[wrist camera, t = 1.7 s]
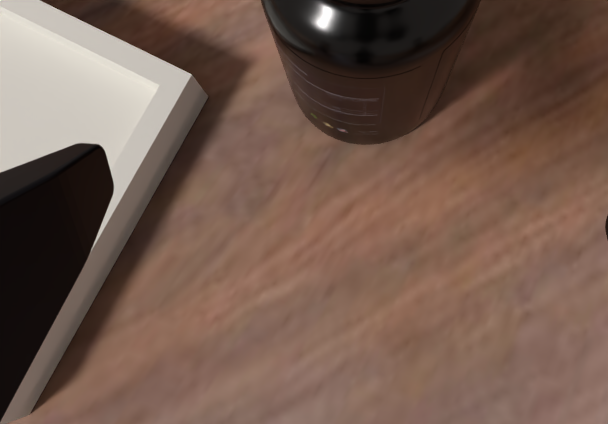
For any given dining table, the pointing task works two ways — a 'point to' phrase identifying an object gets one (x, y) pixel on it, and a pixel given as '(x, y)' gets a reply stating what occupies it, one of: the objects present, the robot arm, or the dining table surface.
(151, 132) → the tray
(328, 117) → the supplement bottle
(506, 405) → the dining table surface
